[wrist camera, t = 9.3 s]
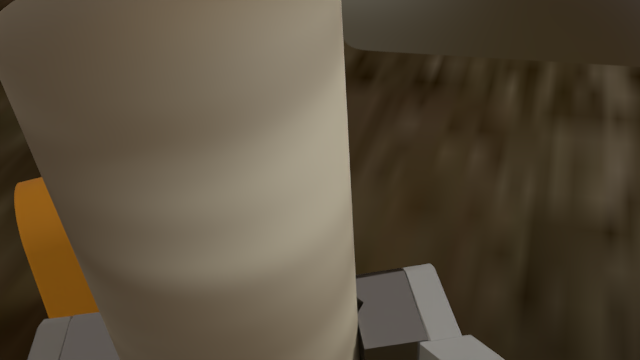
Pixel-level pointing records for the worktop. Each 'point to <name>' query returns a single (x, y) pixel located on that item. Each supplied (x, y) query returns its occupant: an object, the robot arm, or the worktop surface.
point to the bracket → (50, 253)
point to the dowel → (196, 168)
